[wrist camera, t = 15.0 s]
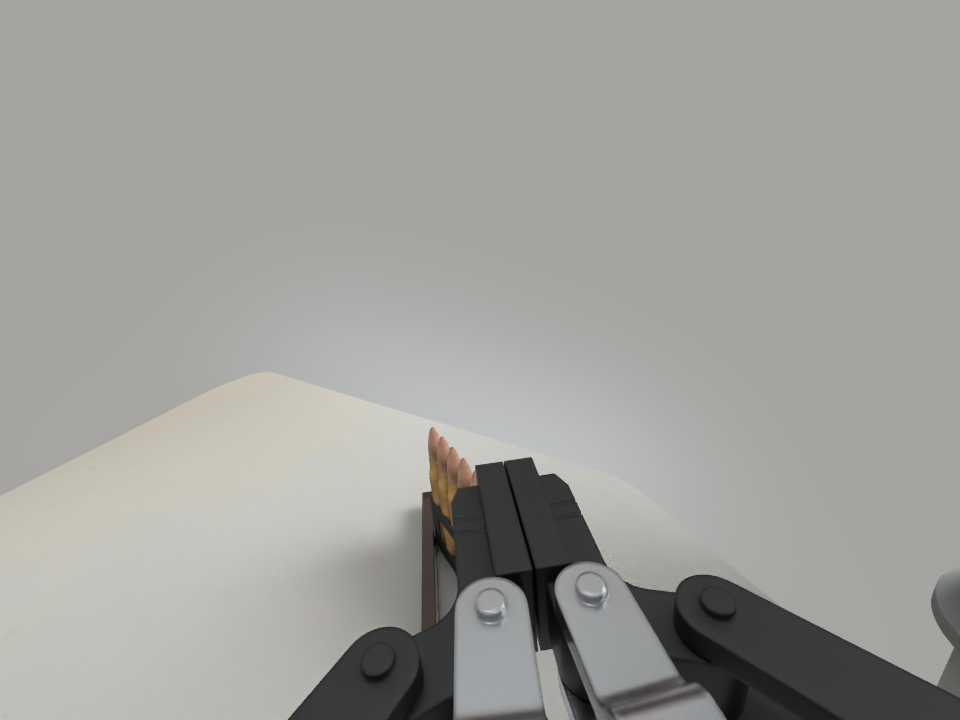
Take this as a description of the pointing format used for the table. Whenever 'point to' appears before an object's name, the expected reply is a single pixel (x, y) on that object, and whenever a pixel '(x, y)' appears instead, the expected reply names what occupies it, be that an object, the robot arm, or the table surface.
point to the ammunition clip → (446, 490)
